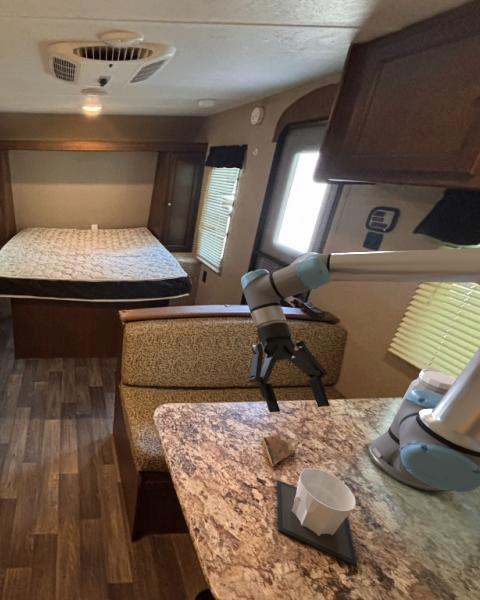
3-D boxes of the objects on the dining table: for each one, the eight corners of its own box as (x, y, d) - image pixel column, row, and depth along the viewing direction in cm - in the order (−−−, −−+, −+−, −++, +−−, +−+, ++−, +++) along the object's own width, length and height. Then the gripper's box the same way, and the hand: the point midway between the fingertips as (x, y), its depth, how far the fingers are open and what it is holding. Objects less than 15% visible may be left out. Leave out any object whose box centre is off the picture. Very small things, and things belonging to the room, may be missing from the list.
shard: (271, 468, 85) (273, 463, 85) (246, 447, 92) (248, 443, 91) (295, 454, 90) (297, 449, 89) (270, 435, 96) (272, 430, 96)
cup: (351, 539, 69) (368, 509, 65) (308, 542, 68) (322, 512, 64) (316, 495, 78) (329, 467, 74) (278, 497, 77) (289, 468, 73)
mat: (343, 508, 76) (344, 506, 76) (356, 567, 64) (357, 565, 64) (276, 481, 82) (277, 479, 82) (278, 531, 71) (279, 529, 70)
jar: (444, 436, 97) (474, 389, 90) (406, 429, 100) (432, 383, 93) (422, 414, 106) (448, 370, 99) (388, 408, 108) (410, 364, 101)
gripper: (300, 327, 89) (330, 405, 81) (220, 332, 85) (243, 415, 78) (323, 318, 82) (357, 402, 75) (236, 324, 78) (264, 413, 71)
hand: (299, 409), depth 76 cm, fingers open, 13 cm apart
